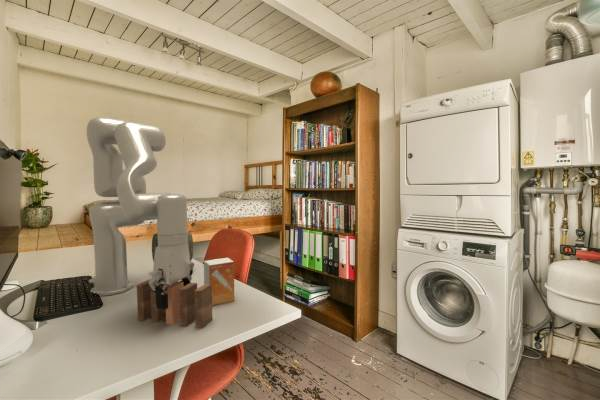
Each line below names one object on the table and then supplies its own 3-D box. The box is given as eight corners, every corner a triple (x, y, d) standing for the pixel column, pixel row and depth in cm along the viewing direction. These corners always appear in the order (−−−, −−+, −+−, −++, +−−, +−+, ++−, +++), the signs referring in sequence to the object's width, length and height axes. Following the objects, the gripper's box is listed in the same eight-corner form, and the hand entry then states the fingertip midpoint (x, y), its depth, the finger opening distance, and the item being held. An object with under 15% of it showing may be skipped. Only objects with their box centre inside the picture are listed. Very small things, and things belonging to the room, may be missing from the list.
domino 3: (166, 323, 78) (165, 287, 78) (178, 315, 83) (177, 281, 82) (172, 324, 78) (171, 288, 77) (184, 316, 83) (183, 281, 82)
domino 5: (195, 327, 76) (194, 290, 75) (205, 319, 81) (205, 283, 80) (202, 328, 75) (201, 290, 75) (212, 319, 80) (211, 284, 80)
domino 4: (180, 325, 77) (179, 288, 76) (191, 317, 82) (190, 282, 81) (187, 326, 77) (186, 289, 76) (198, 318, 81) (197, 283, 81)
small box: (209, 307, 89) (208, 265, 88) (204, 300, 94) (203, 260, 93) (235, 301, 93) (234, 261, 92) (228, 294, 98) (227, 256, 98)
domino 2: (151, 322, 79) (150, 286, 79) (164, 314, 84) (163, 280, 83) (157, 322, 79) (156, 286, 78) (170, 314, 84) (169, 280, 83)
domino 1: (137, 320, 80) (136, 284, 80) (151, 312, 85) (149, 279, 84) (143, 321, 80) (142, 285, 79) (156, 313, 85) (155, 279, 84)
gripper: (180, 233, 88) (182, 288, 89) (136, 245, 71) (138, 313, 72) (202, 234, 87) (204, 290, 88) (162, 247, 70) (164, 316, 71)
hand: (174, 301), depth 80 cm, fingers open, 9 cm apart
